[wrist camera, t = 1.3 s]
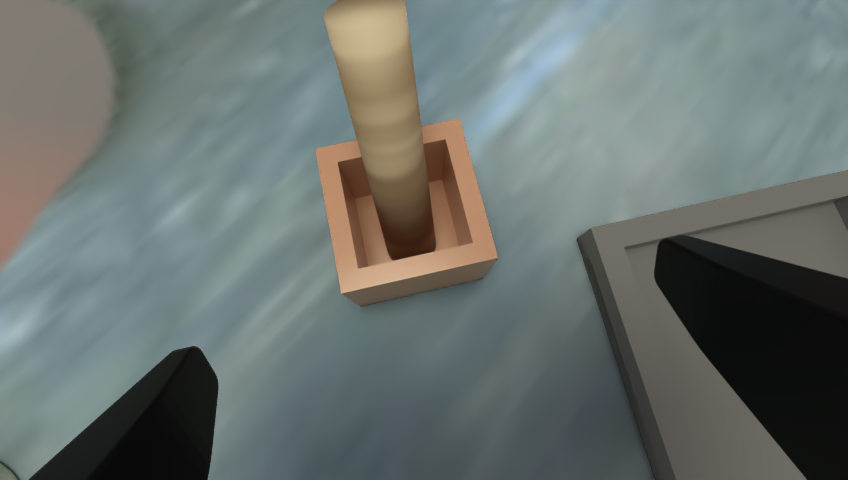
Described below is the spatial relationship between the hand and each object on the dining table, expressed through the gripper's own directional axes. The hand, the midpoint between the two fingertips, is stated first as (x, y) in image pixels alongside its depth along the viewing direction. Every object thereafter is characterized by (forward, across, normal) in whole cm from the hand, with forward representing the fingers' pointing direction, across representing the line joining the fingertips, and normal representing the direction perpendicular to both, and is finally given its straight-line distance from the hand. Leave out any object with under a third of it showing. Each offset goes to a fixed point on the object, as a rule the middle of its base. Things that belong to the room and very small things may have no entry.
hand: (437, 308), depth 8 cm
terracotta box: (+13, 0, +6) cm, 14 cm away
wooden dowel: (+13, 0, +4) cm, 14 cm away
